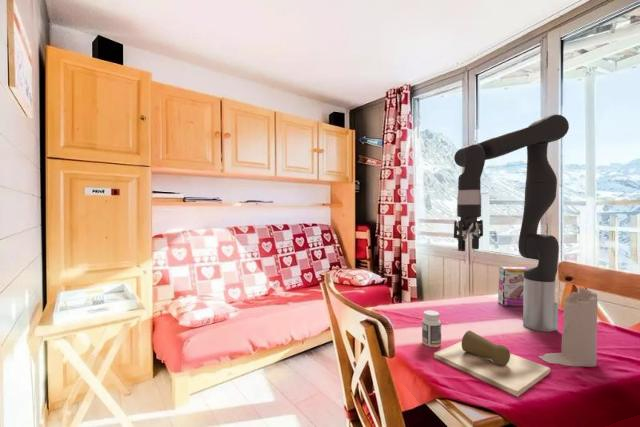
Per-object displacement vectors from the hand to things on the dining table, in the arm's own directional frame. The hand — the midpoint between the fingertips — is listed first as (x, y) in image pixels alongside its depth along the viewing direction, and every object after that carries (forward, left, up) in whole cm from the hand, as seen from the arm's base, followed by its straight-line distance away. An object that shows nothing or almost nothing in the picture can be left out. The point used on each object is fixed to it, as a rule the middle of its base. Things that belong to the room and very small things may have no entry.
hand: (468, 249), depth 107 cm
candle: (-19, +20, -28) cm, 40 cm away
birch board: (+4, +24, -28) cm, 37 cm away
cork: (+8, +19, -24) cm, 31 cm away
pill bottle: (+16, +12, -28) cm, 35 cm away
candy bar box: (-31, -29, -28) cm, 51 cm away
